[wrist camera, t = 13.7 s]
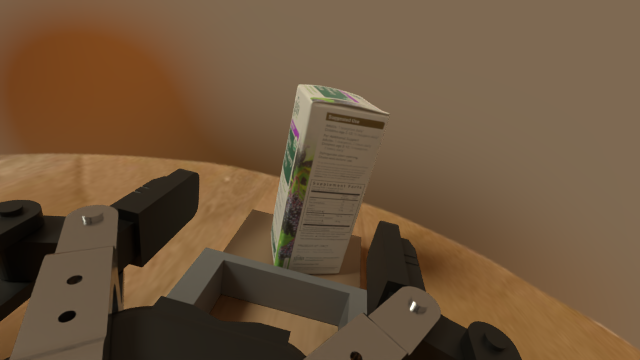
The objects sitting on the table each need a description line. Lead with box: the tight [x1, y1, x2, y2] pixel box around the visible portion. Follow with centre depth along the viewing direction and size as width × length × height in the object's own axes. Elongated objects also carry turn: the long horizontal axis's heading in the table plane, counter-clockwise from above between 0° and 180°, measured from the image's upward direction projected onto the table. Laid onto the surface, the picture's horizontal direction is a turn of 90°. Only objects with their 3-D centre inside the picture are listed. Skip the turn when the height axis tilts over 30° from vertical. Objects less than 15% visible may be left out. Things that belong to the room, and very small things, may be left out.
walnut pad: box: [223, 210, 361, 288], centre depth 28 cm, size 12×9×2 cm
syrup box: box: [271, 84, 390, 274], centre depth 24 cm, size 6×6×14 cm
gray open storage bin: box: [166, 248, 367, 331], centre depth 18 cm, size 13×11×4 cm
